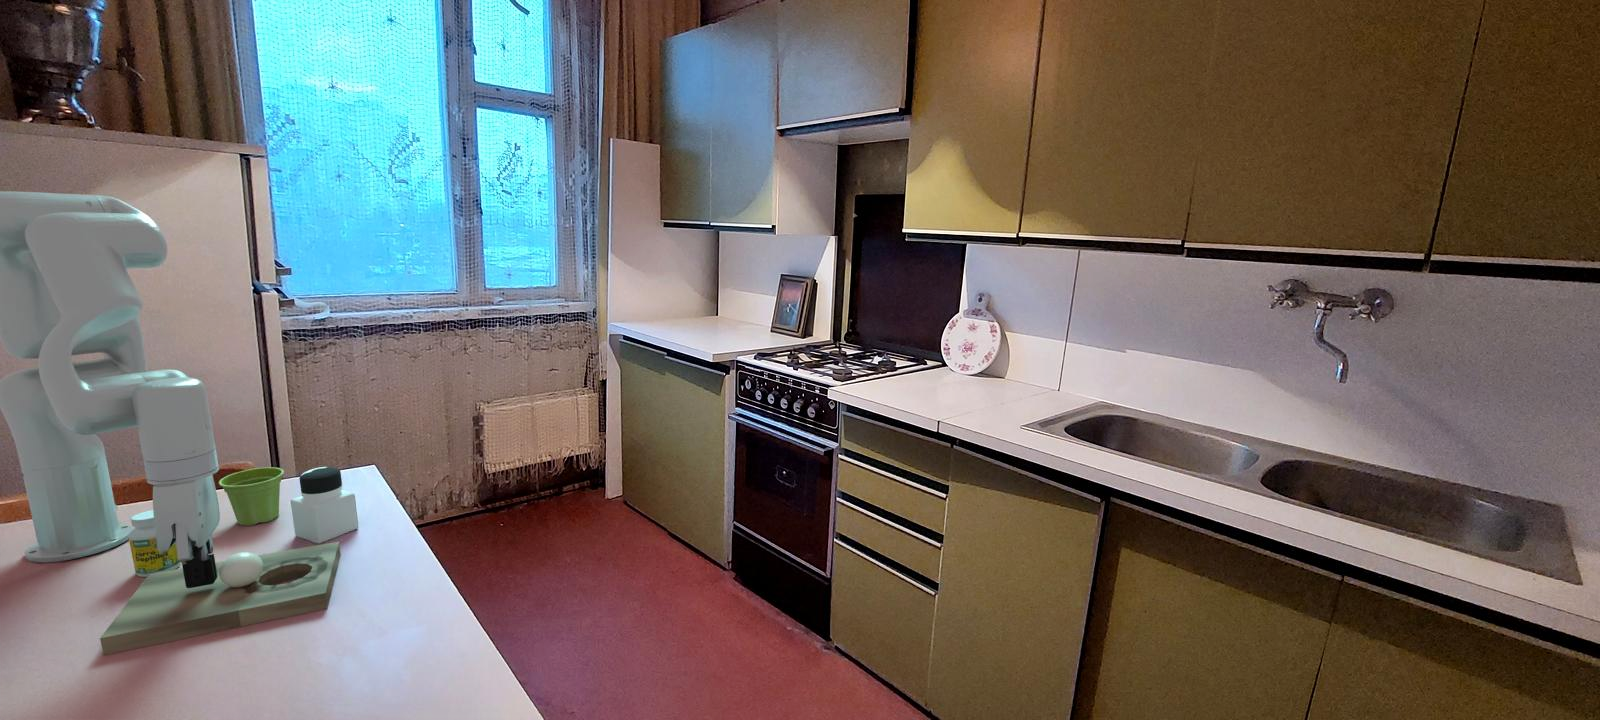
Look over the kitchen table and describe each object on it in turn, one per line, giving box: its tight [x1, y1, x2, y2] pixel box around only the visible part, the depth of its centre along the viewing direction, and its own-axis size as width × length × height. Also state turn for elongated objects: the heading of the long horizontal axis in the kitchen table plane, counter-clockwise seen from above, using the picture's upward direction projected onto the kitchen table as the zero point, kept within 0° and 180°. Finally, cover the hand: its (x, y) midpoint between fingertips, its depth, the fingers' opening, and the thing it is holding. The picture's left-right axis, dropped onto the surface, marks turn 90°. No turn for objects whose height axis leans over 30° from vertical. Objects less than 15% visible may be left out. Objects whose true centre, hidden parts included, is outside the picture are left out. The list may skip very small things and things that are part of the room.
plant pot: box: [218, 466, 285, 526], centre depth 124 cm, size 9×9×9 cm
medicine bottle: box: [290, 466, 359, 545], centre depth 120 cm, size 7×7×12 cm
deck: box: [99, 541, 342, 656], centre depth 99 cm, size 18×24×2 cm
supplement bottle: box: [128, 509, 182, 578], centre depth 106 cm, size 5×5×10 cm
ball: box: [219, 551, 263, 587], centre depth 98 cm, size 5×5×5 cm
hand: (202, 583), depth 97 cm, fingers closed
